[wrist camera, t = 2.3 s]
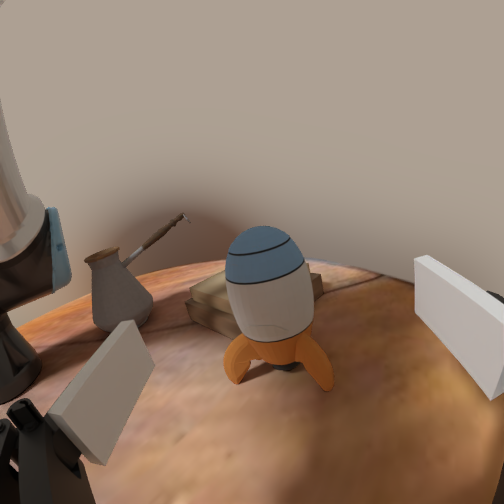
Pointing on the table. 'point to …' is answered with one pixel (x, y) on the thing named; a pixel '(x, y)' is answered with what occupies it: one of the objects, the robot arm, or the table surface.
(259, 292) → the toy rocket
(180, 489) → the table surface
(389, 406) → the table surface
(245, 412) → the table surface
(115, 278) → the coffee pot
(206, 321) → the pad
